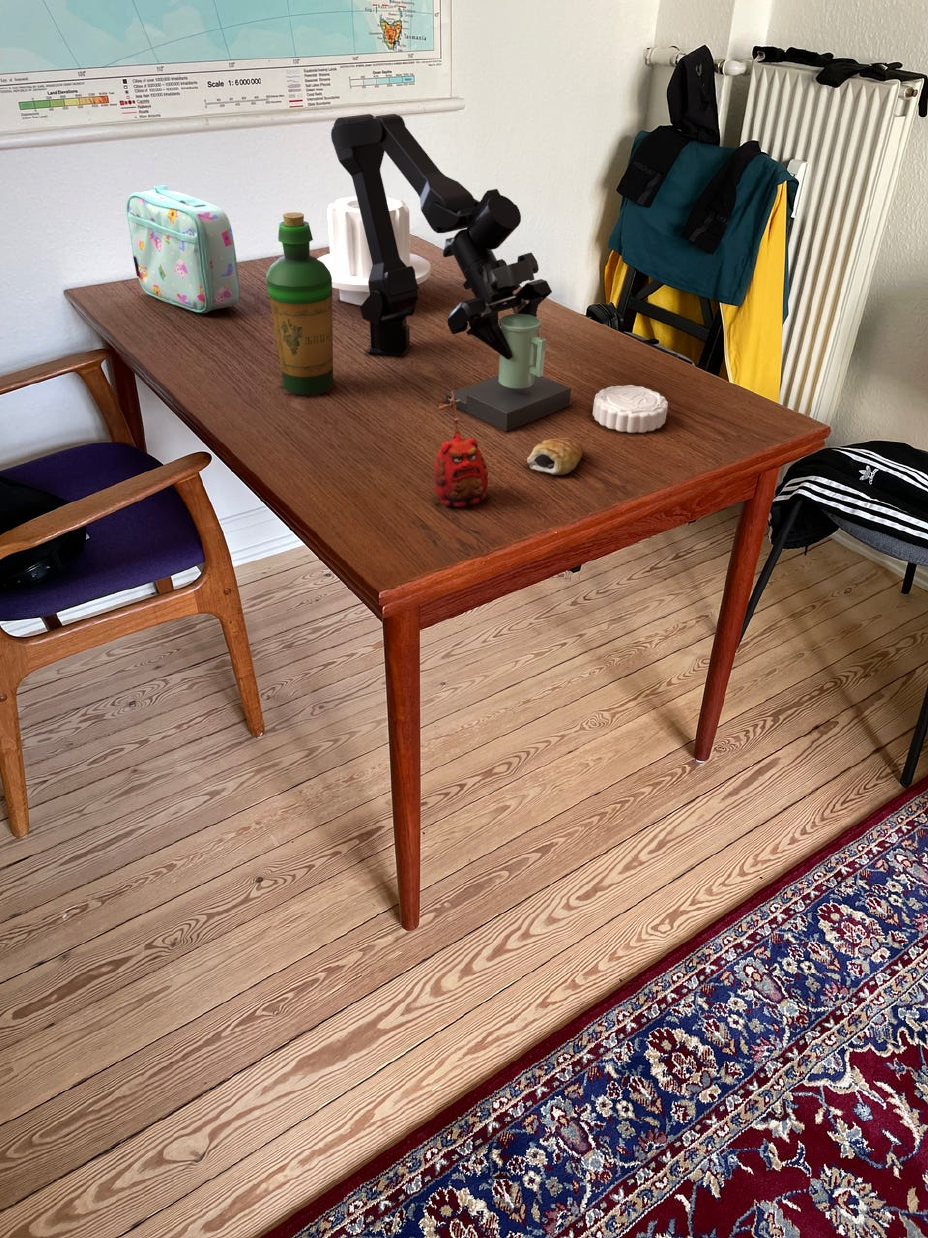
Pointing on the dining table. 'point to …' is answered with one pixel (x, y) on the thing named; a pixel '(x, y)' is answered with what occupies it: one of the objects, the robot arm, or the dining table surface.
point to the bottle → (301, 310)
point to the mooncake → (630, 408)
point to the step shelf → (511, 401)
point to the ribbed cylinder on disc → (364, 248)
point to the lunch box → (183, 250)
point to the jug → (521, 351)
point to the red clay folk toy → (460, 468)
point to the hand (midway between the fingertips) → (524, 353)
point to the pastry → (555, 456)
